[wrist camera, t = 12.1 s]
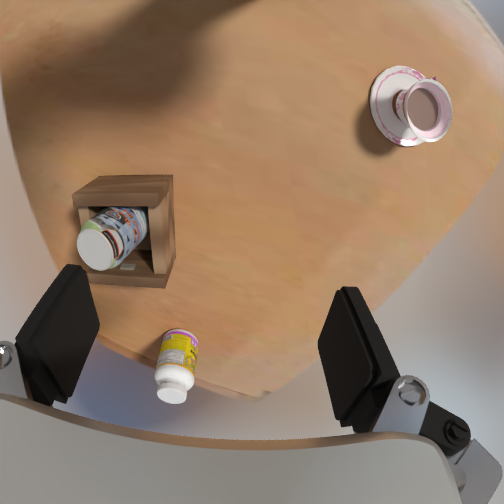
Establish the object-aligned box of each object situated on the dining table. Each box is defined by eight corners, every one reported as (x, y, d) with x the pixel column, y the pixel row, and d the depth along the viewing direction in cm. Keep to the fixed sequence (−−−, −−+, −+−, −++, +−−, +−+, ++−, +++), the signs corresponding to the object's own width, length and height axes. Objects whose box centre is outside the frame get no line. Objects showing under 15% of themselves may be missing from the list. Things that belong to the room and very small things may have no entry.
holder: (99, 176, 36) (71, 194, 29) (172, 174, 36) (157, 193, 29) (109, 253, 42) (89, 282, 35) (176, 256, 42) (165, 288, 35)
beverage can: (165, 226, 39) (139, 274, 28) (120, 235, 39) (84, 281, 29) (154, 183, 36) (119, 218, 25) (107, 194, 36) (63, 231, 26)
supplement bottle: (197, 353, 53) (191, 409, 42) (164, 348, 52) (152, 403, 41) (199, 329, 50) (192, 388, 39) (163, 324, 49) (148, 381, 38)
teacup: (423, 157, 36) (447, 168, 31) (358, 127, 34) (378, 132, 29) (444, 90, 31) (470, 92, 25) (381, 51, 29) (403, 46, 23)
